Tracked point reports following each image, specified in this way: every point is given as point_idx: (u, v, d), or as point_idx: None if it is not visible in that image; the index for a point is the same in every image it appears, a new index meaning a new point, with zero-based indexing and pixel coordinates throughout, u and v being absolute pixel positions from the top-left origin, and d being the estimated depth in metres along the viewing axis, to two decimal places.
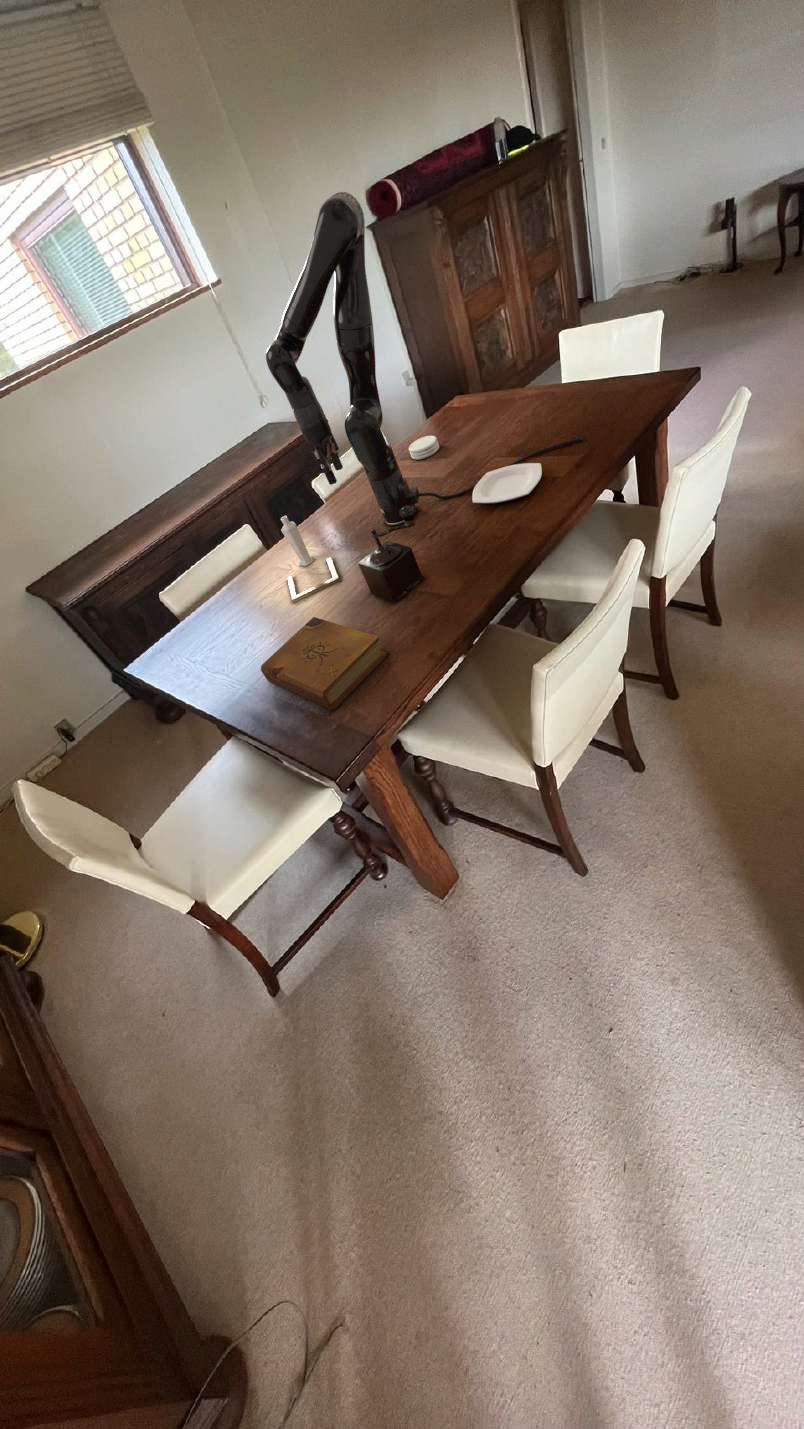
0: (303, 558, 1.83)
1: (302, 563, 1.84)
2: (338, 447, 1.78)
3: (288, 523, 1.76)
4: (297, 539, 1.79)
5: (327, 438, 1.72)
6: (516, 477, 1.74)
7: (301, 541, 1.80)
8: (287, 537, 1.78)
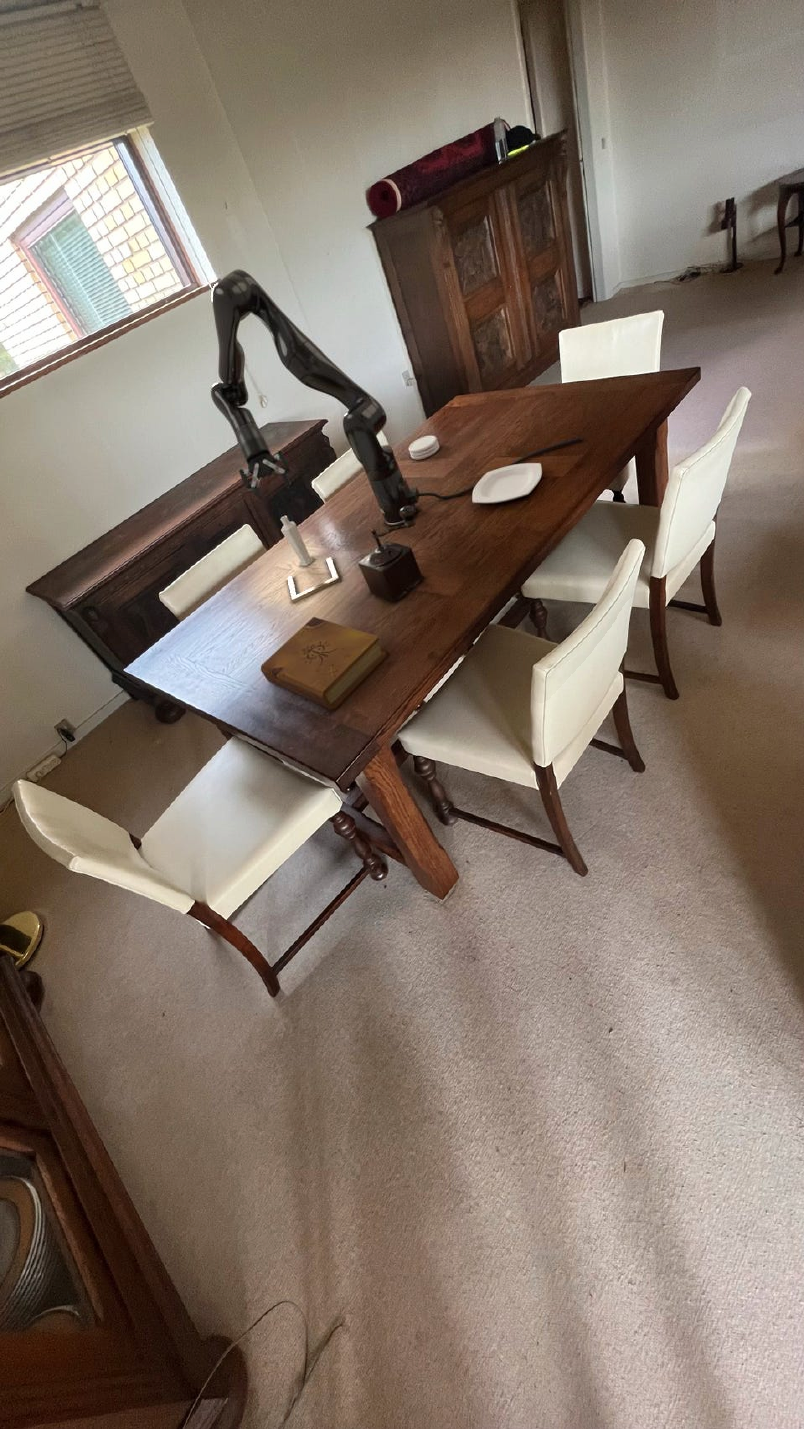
0: (303, 558, 1.83)
1: (302, 563, 1.84)
2: (287, 466, 1.81)
3: (288, 523, 1.76)
4: (297, 539, 1.79)
5: (267, 458, 1.81)
6: (516, 477, 1.74)
7: (301, 541, 1.80)
8: (287, 537, 1.78)
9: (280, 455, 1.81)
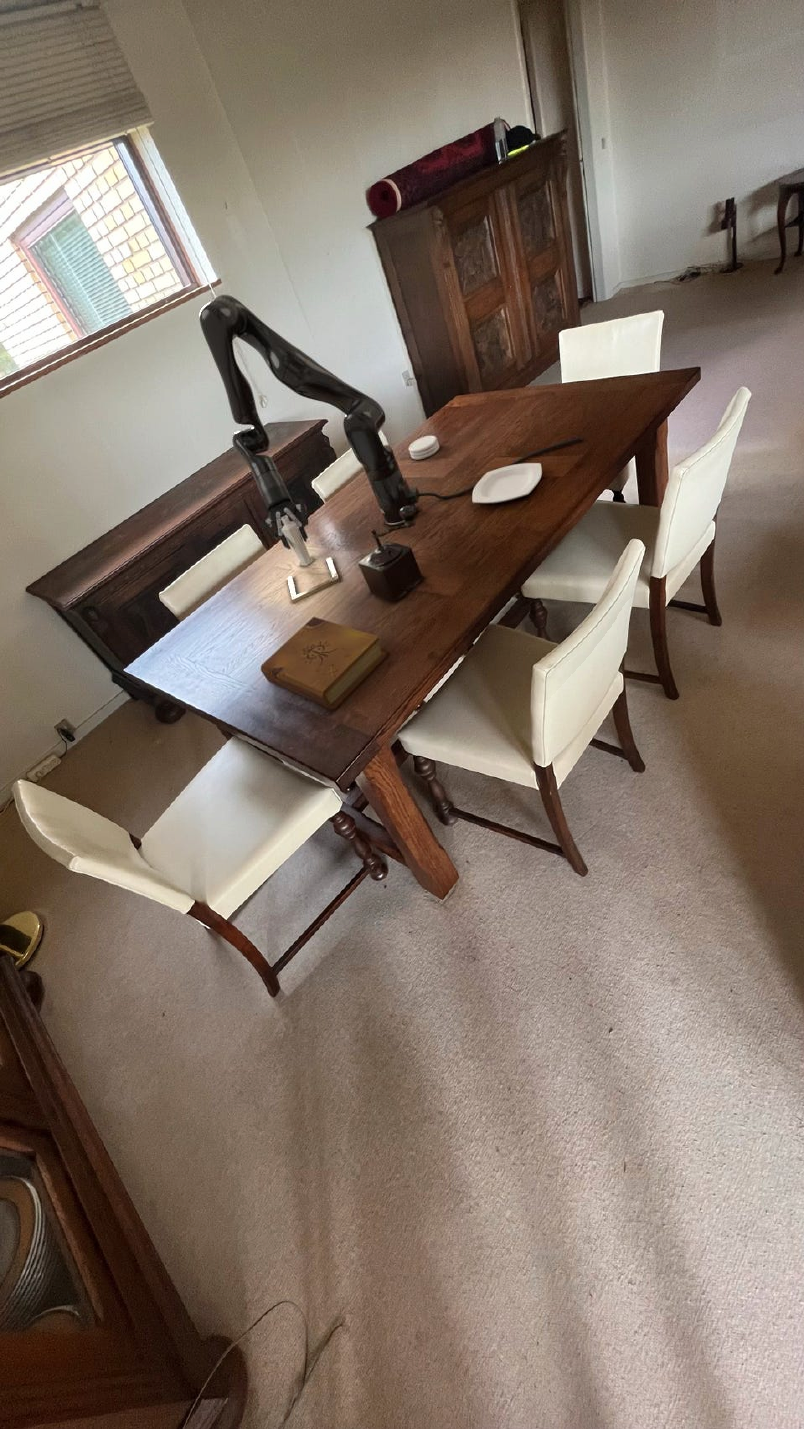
0: (303, 558, 1.83)
1: (302, 563, 1.84)
2: (305, 520, 1.78)
3: (288, 523, 1.76)
4: (297, 539, 1.79)
5: (289, 506, 1.79)
6: (516, 477, 1.74)
7: (301, 541, 1.80)
8: (287, 537, 1.78)
9: (302, 507, 1.78)
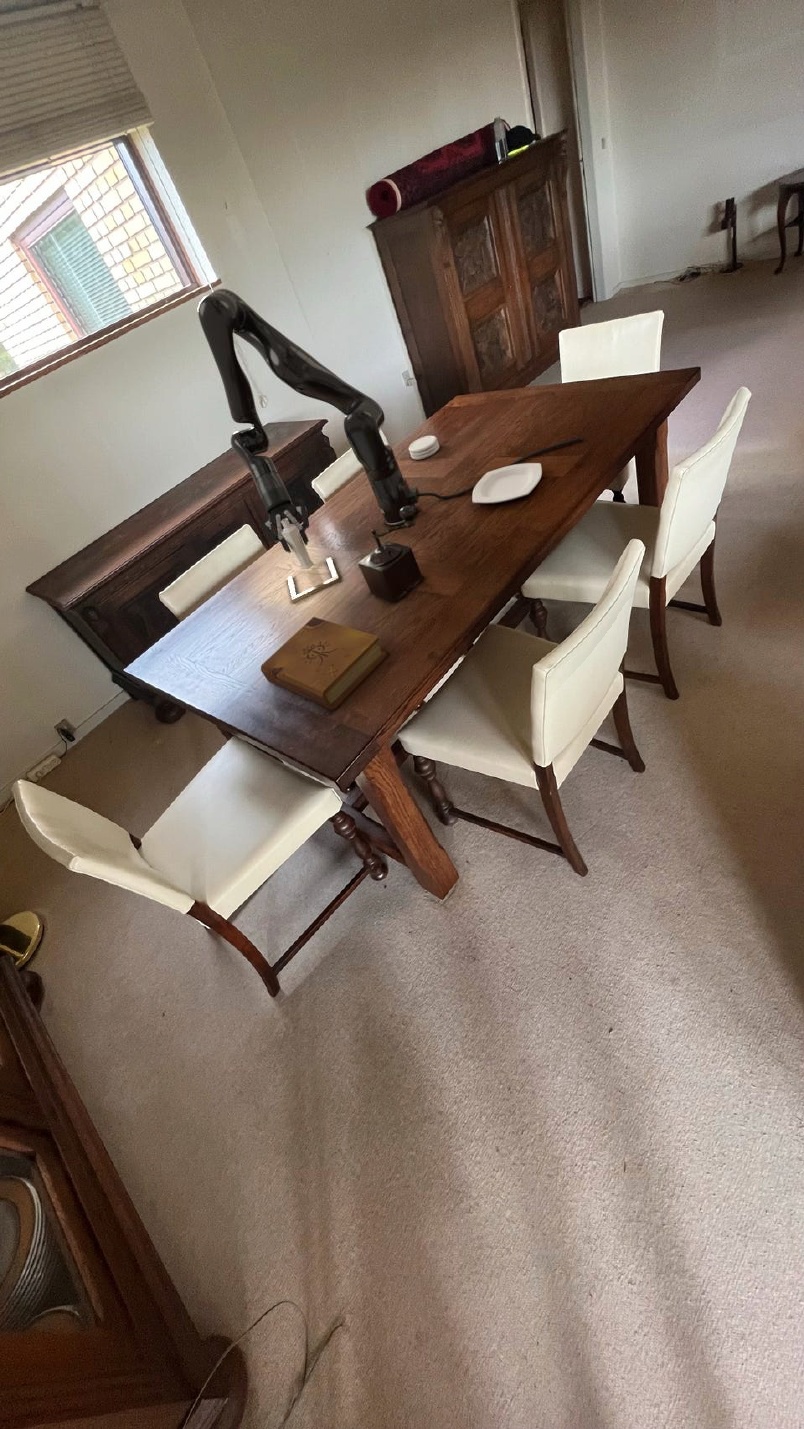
0: (304, 561, 1.78)
1: (303, 567, 1.80)
2: (305, 522, 1.73)
3: (289, 526, 1.71)
4: (298, 542, 1.74)
5: (289, 508, 1.74)
6: (516, 477, 1.74)
7: (302, 544, 1.75)
8: (288, 540, 1.73)
9: (302, 509, 1.74)
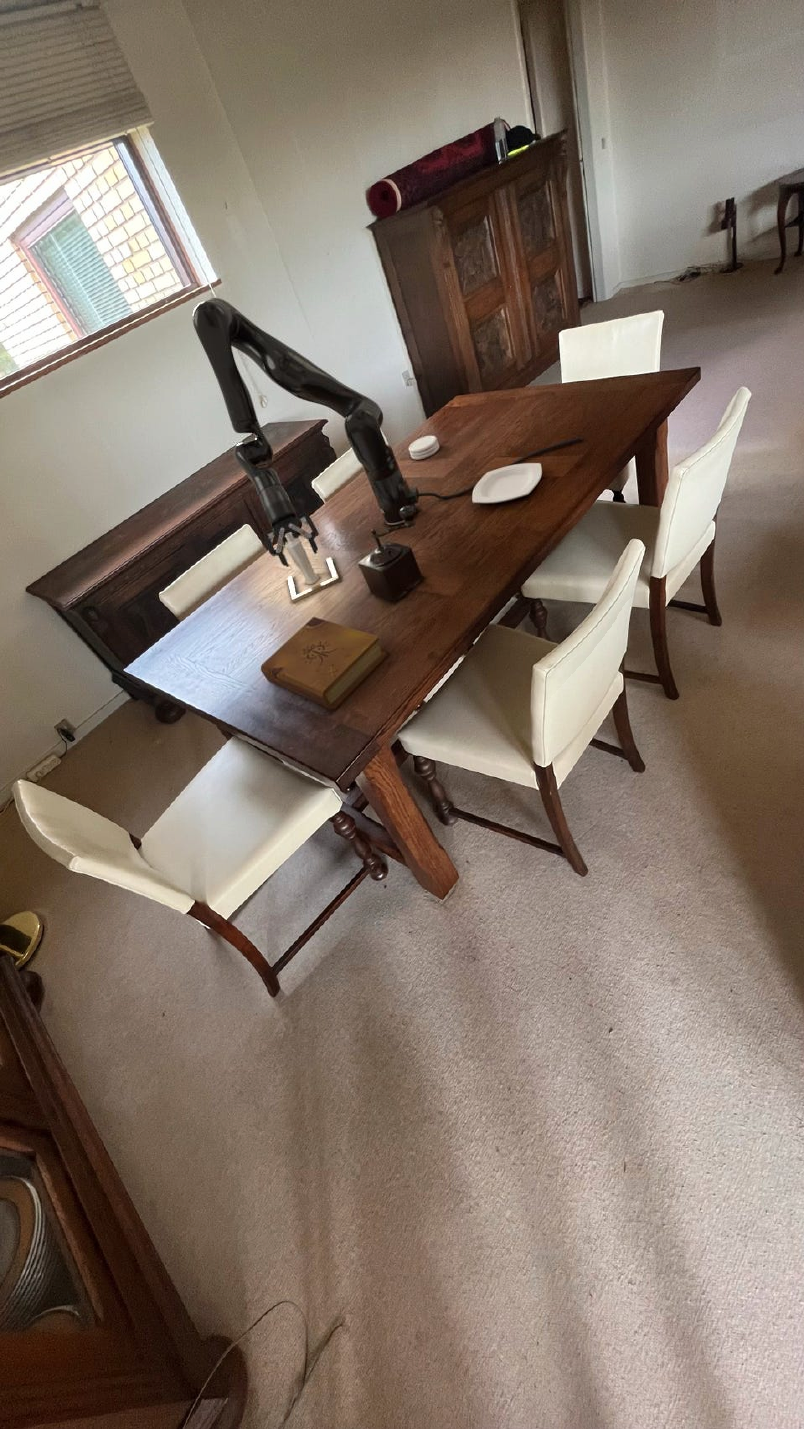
0: (308, 576, 1.74)
1: (307, 581, 1.75)
2: (315, 530, 1.69)
3: (293, 540, 1.67)
4: (302, 556, 1.70)
5: (293, 522, 1.70)
6: (516, 477, 1.74)
7: (306, 559, 1.71)
8: (292, 555, 1.69)
9: (307, 519, 1.69)
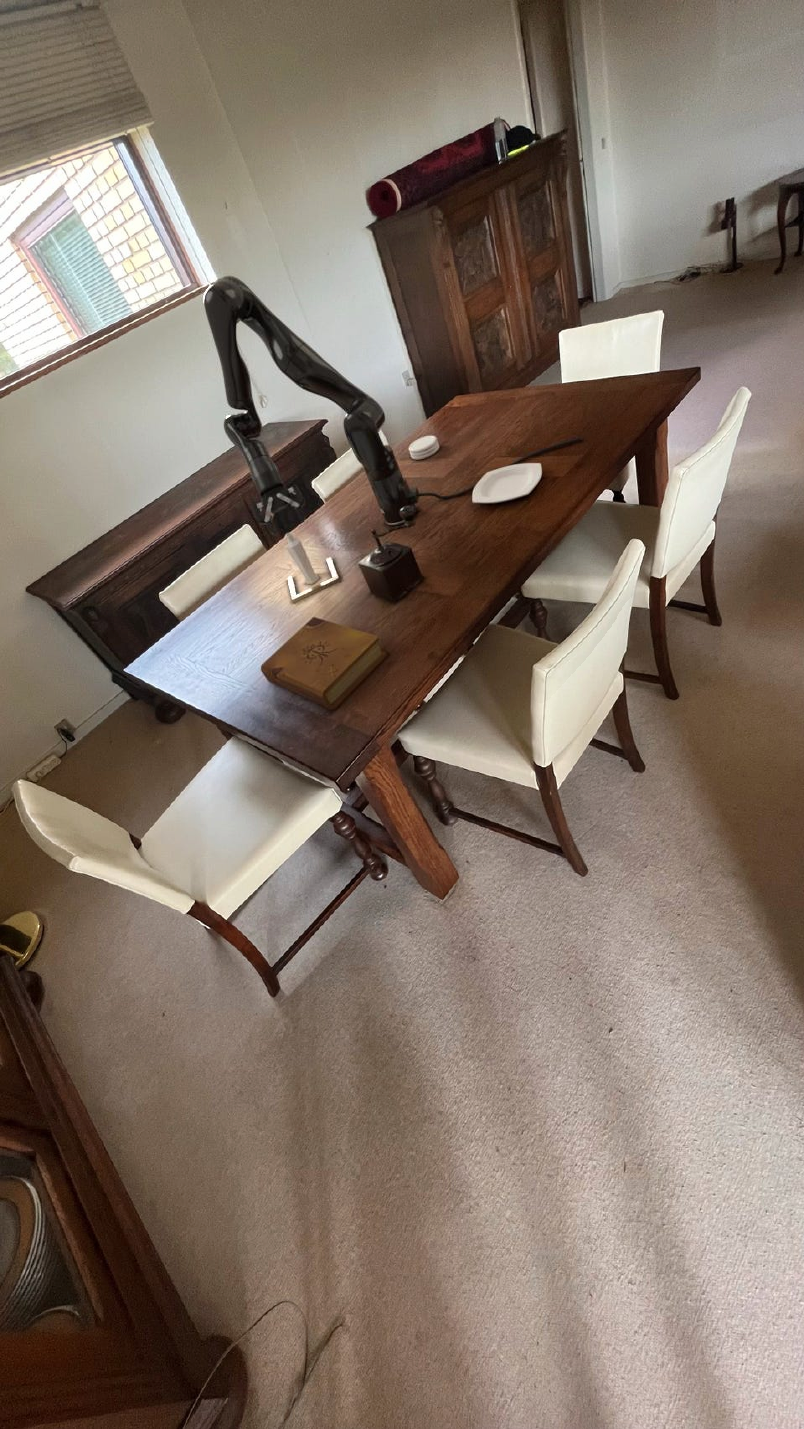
0: (308, 576, 1.74)
1: (307, 581, 1.75)
2: (302, 499, 1.74)
3: (293, 540, 1.67)
4: (302, 556, 1.70)
5: (281, 492, 1.75)
6: (516, 477, 1.74)
7: (306, 559, 1.71)
8: (292, 555, 1.69)
9: (294, 488, 1.75)
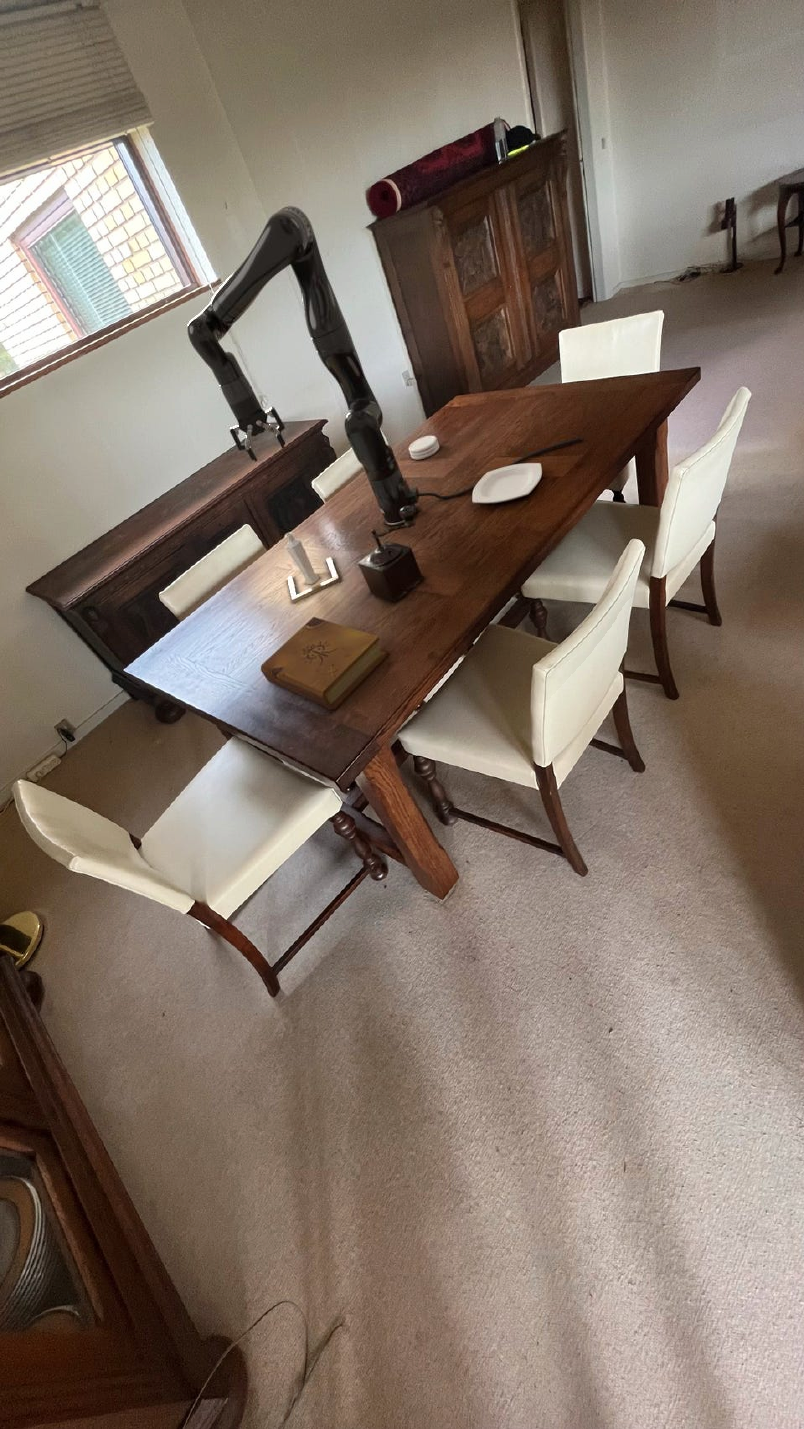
0: (308, 576, 1.74)
1: (307, 581, 1.75)
2: (283, 427, 1.72)
3: (293, 540, 1.67)
4: (302, 556, 1.70)
5: (260, 417, 1.70)
6: (516, 477, 1.74)
7: (306, 559, 1.71)
8: (292, 555, 1.69)
9: (274, 414, 1.70)
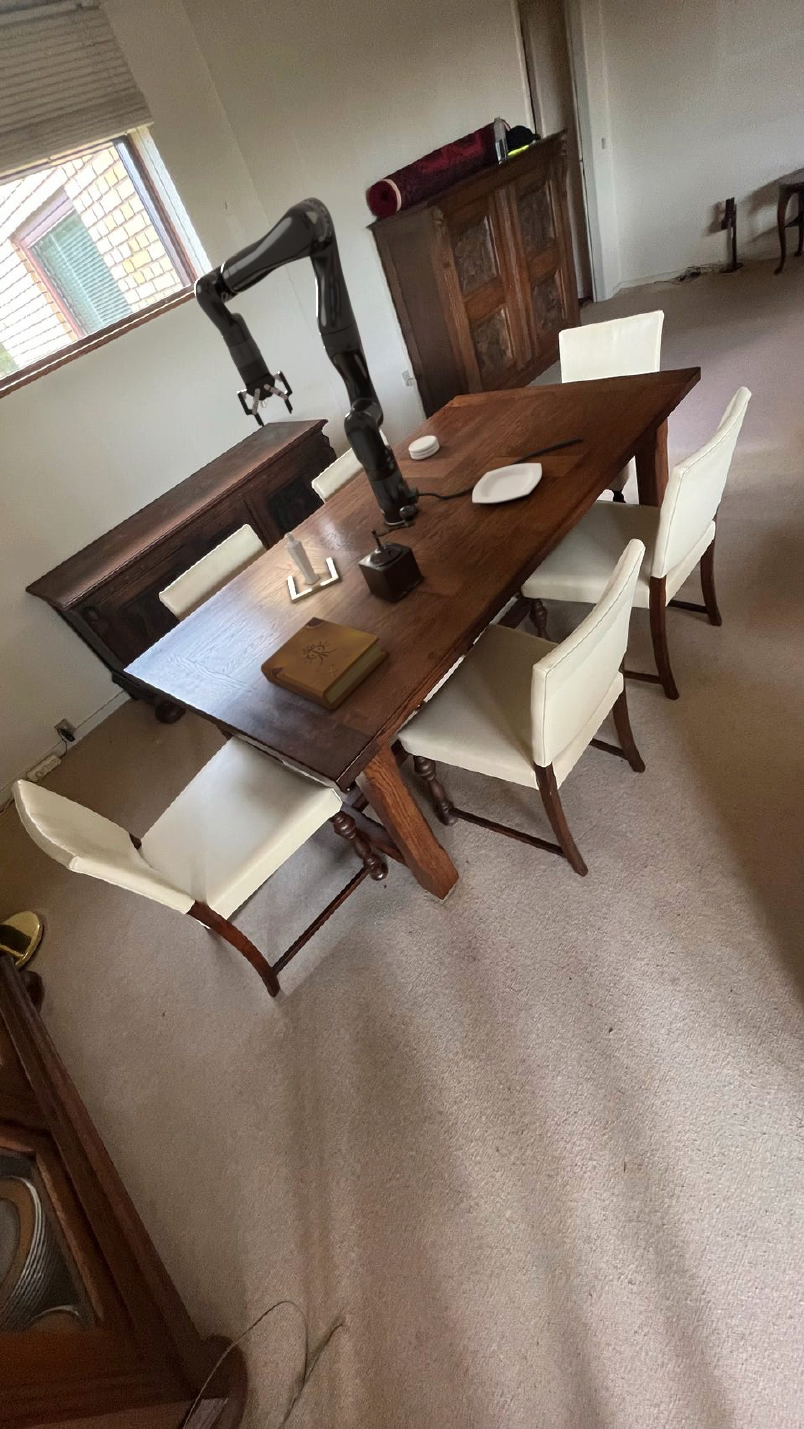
0: (308, 576, 1.74)
1: (307, 581, 1.75)
2: (290, 392, 1.71)
3: (293, 540, 1.67)
4: (302, 556, 1.70)
5: (268, 381, 1.68)
6: (516, 477, 1.74)
7: (306, 559, 1.71)
8: (292, 555, 1.69)
9: (282, 378, 1.68)
